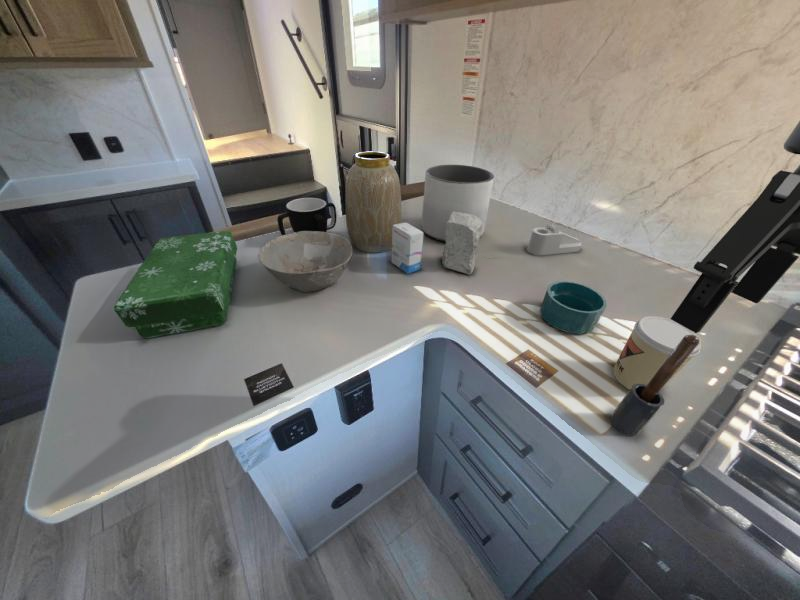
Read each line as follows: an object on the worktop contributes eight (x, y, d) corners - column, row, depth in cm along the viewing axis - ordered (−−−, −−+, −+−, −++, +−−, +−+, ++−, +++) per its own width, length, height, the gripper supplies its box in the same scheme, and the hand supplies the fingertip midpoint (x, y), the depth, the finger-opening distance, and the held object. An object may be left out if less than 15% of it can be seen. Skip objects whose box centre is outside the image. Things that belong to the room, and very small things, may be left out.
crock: (644, 429, 52) (670, 400, 47) (628, 440, 50) (653, 410, 46) (620, 409, 55) (643, 379, 50) (604, 419, 53) (625, 389, 49)
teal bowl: (606, 326, 73) (618, 304, 69) (569, 341, 68) (580, 319, 64) (563, 297, 81) (572, 276, 78) (528, 309, 77) (535, 288, 73)
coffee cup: (611, 353, 66) (639, 308, 59) (665, 374, 61) (702, 328, 54) (604, 382, 60) (634, 336, 52) (663, 408, 55) (705, 361, 48)
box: (231, 329, 69) (216, 291, 63) (133, 345, 64) (107, 306, 58) (243, 260, 93) (233, 228, 87) (172, 268, 88) (157, 235, 82)
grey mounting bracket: (582, 251, 103) (592, 228, 98) (533, 256, 99) (540, 232, 95) (571, 243, 107) (579, 221, 102) (523, 247, 104) (530, 224, 99)
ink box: (421, 269, 91) (424, 231, 84) (407, 274, 89) (409, 235, 82) (404, 257, 96) (405, 220, 89) (390, 262, 94) (391, 224, 87)
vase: (406, 253, 99) (410, 161, 83) (351, 258, 95) (343, 163, 79) (394, 230, 112) (395, 148, 96) (345, 234, 109) (338, 149, 92)
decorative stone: (436, 270, 91) (442, 222, 82) (442, 255, 98) (448, 210, 89) (472, 276, 89) (481, 227, 80) (476, 261, 96) (485, 215, 87)
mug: (300, 227, 112) (294, 193, 105) (343, 231, 110) (340, 197, 103) (277, 247, 100) (268, 210, 92) (325, 253, 97) (320, 216, 90)
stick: (633, 424, 52) (704, 338, 40) (627, 428, 51) (697, 342, 40) (624, 417, 53) (691, 330, 41) (618, 420, 53) (684, 334, 41)
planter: (413, 239, 107) (417, 178, 95) (429, 215, 124) (433, 161, 112) (479, 250, 102) (491, 186, 90) (486, 224, 119) (497, 168, 107)
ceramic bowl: (337, 315, 74) (333, 279, 68) (249, 300, 77) (237, 265, 71) (366, 268, 91) (364, 236, 85) (293, 257, 95) (286, 226, 89)
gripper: (865, 100, 33) (732, 274, 45) (745, 102, 24) (621, 318, 36) (994, 108, 28) (803, 302, 40) (902, 114, 18) (692, 363, 31)
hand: (716, 310), depth 38 cm, fingers open, 13 cm apart
